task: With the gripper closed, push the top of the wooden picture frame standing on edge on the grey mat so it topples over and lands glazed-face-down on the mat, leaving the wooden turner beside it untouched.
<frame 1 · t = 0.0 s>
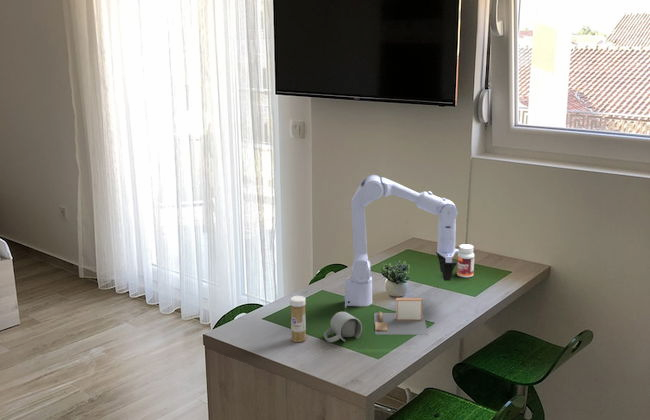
hand: (445, 276, 230), 10 cm above the table, tool pointing down, fingers open, 7 cm apart
mat: (400, 325, 217), on the table
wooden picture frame: (409, 319, 219), point 1 cm above the table, touching mat
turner: (380, 324, 218), resting on mat
pill bottle: (465, 275, 259), on the table
ceramic mug: (341, 339, 209), on the table
sprinkles bottle: (299, 340, 209), on the table
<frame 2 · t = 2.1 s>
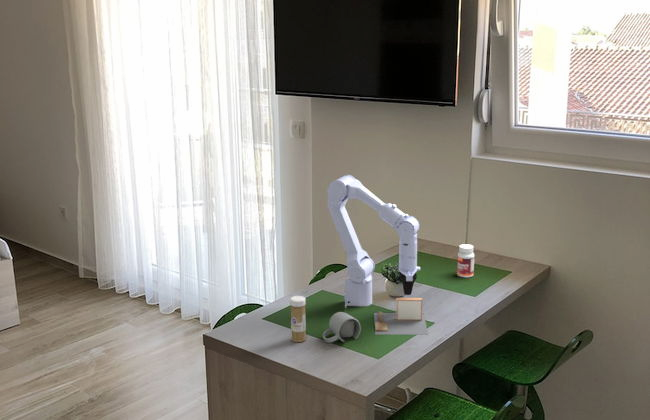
hand: (407, 294, 225), 6 cm above the table, tool pointing down, fingers closed
nothing on the table moved.
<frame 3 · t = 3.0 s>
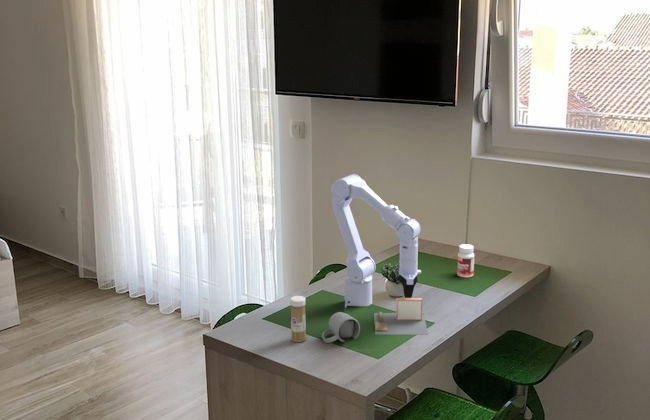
hand: (408, 297, 223), 6 cm above the table, tool pointing down, fingers closed
nothing on the table moved.
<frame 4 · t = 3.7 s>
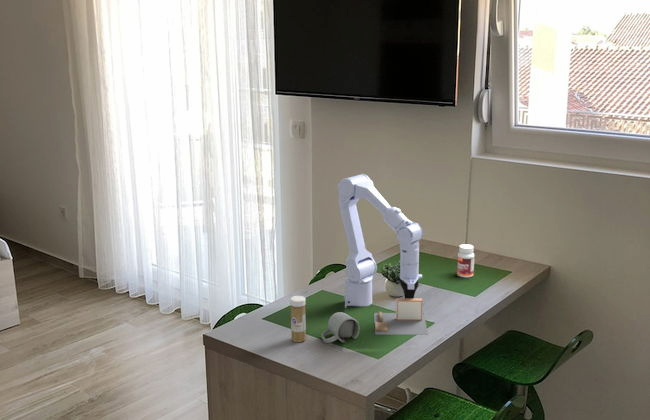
hand: (408, 302, 219), 6 cm above the table, tool pointing down, fingers closed
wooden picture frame: (409, 319, 219), point 1 cm above the table, touching gripper, mat
everything else where it was.
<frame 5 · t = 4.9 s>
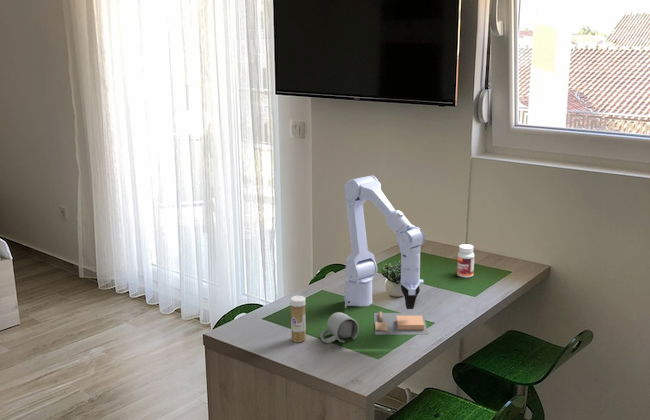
hand: (409, 308, 215), 6 cm above the table, tool pointing down, fingers closed
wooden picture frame: (409, 317, 218), point 2 cm above the table, tilted 90°, touching mat
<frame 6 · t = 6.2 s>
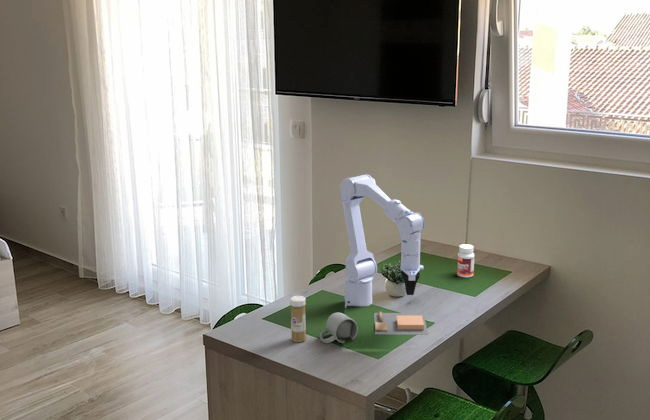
hand: (409, 294, 214), 10 cm above the table, tool pointing down, fingers closed
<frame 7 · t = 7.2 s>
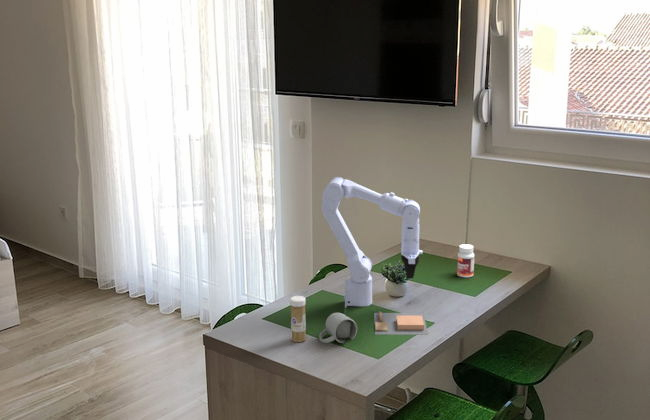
hand: (409, 277, 228), 10 cm above the table, tool pointing down, fingers closed
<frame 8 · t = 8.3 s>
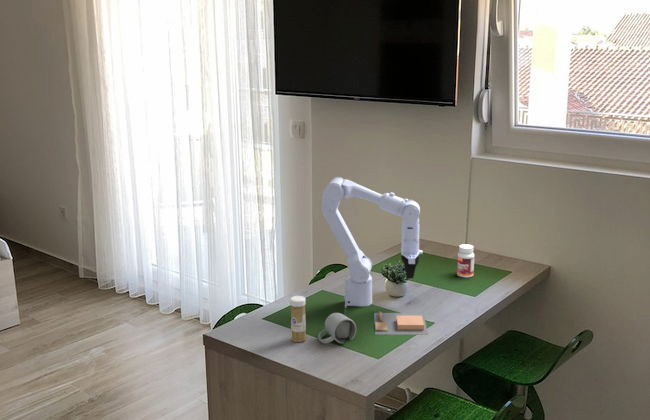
hand: (409, 277, 228), 10 cm above the table, tool pointing down, fingers closed
at the end: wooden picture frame tilted 90°; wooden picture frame inside the target area on the mat (3.7 cm from its centre), point 1.7 cm above the mat's base; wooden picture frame touching mat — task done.
